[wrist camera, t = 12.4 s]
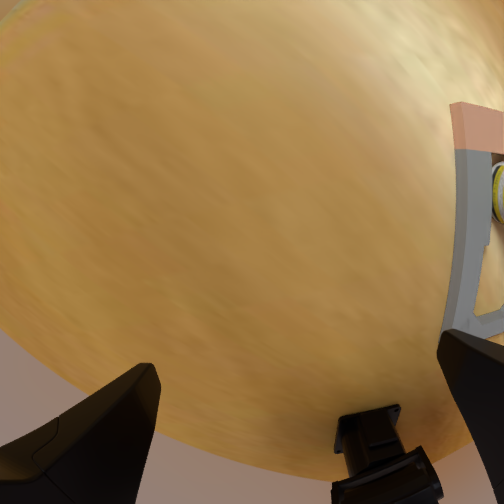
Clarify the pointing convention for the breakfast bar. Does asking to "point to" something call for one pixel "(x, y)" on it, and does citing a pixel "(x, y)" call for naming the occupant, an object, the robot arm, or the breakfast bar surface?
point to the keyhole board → (472, 215)
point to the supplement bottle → (498, 192)
